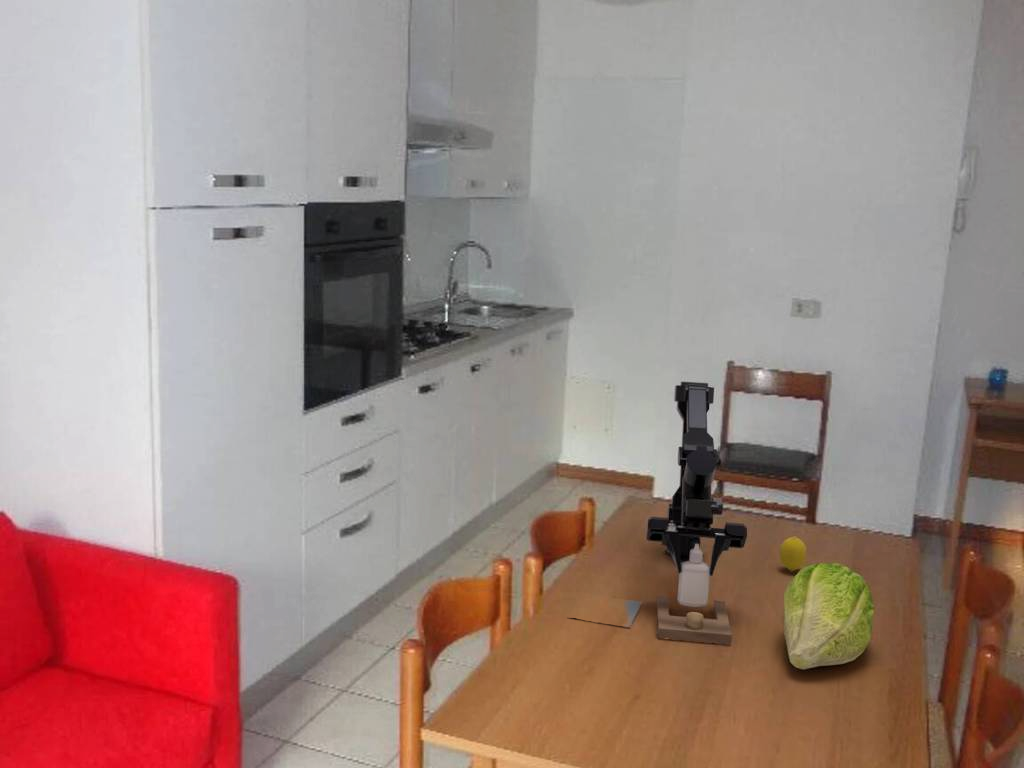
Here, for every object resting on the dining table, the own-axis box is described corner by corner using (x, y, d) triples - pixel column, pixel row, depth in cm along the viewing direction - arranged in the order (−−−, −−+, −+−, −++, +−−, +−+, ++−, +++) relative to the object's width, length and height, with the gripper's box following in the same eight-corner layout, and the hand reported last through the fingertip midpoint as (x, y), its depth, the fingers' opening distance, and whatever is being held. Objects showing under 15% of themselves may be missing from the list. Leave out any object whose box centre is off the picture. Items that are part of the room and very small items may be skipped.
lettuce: (845, 710, 165) (756, 686, 175) (891, 621, 182) (808, 604, 192) (837, 637, 160) (745, 617, 169) (885, 553, 177) (799, 539, 187)
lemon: (807, 576, 212) (811, 541, 211) (781, 575, 212) (785, 540, 211) (800, 567, 218) (804, 532, 216) (775, 566, 218) (778, 531, 216)
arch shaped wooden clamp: (656, 605, 195) (658, 585, 194) (723, 610, 193) (725, 591, 192) (658, 638, 180) (659, 618, 179) (730, 645, 179) (732, 624, 178)
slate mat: (583, 594, 199) (583, 592, 198) (642, 604, 195) (642, 602, 195) (567, 617, 187) (567, 615, 187) (629, 628, 184) (630, 626, 184)
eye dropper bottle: (701, 611, 186) (706, 550, 183) (674, 603, 189) (678, 544, 186) (710, 603, 190) (715, 544, 187) (683, 595, 192) (687, 537, 190)
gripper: (651, 476, 189) (647, 552, 181) (750, 484, 187) (751, 560, 179) (648, 502, 199) (644, 575, 190) (742, 510, 196) (743, 584, 188)
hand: (695, 573), depth 187 cm, fingers closed on eye dropper bottle, 6 cm apart
